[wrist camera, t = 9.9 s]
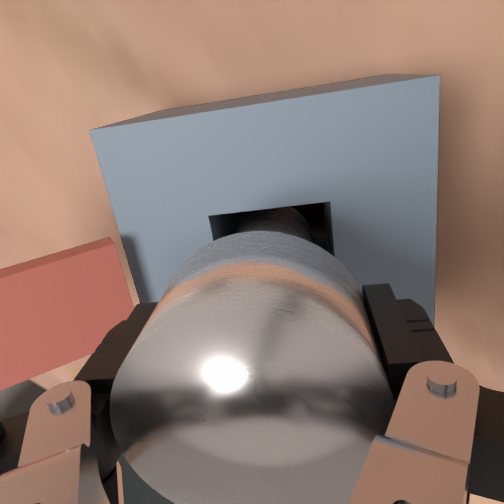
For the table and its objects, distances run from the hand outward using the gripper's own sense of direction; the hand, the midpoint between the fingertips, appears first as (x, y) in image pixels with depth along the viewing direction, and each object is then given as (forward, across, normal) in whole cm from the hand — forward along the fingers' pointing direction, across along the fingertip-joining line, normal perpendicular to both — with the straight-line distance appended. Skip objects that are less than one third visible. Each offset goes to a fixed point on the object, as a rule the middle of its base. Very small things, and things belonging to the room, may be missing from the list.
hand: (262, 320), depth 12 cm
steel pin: (+7, 0, 0) cm, 7 cm away
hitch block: (+12, 0, 0) cm, 12 cm away
